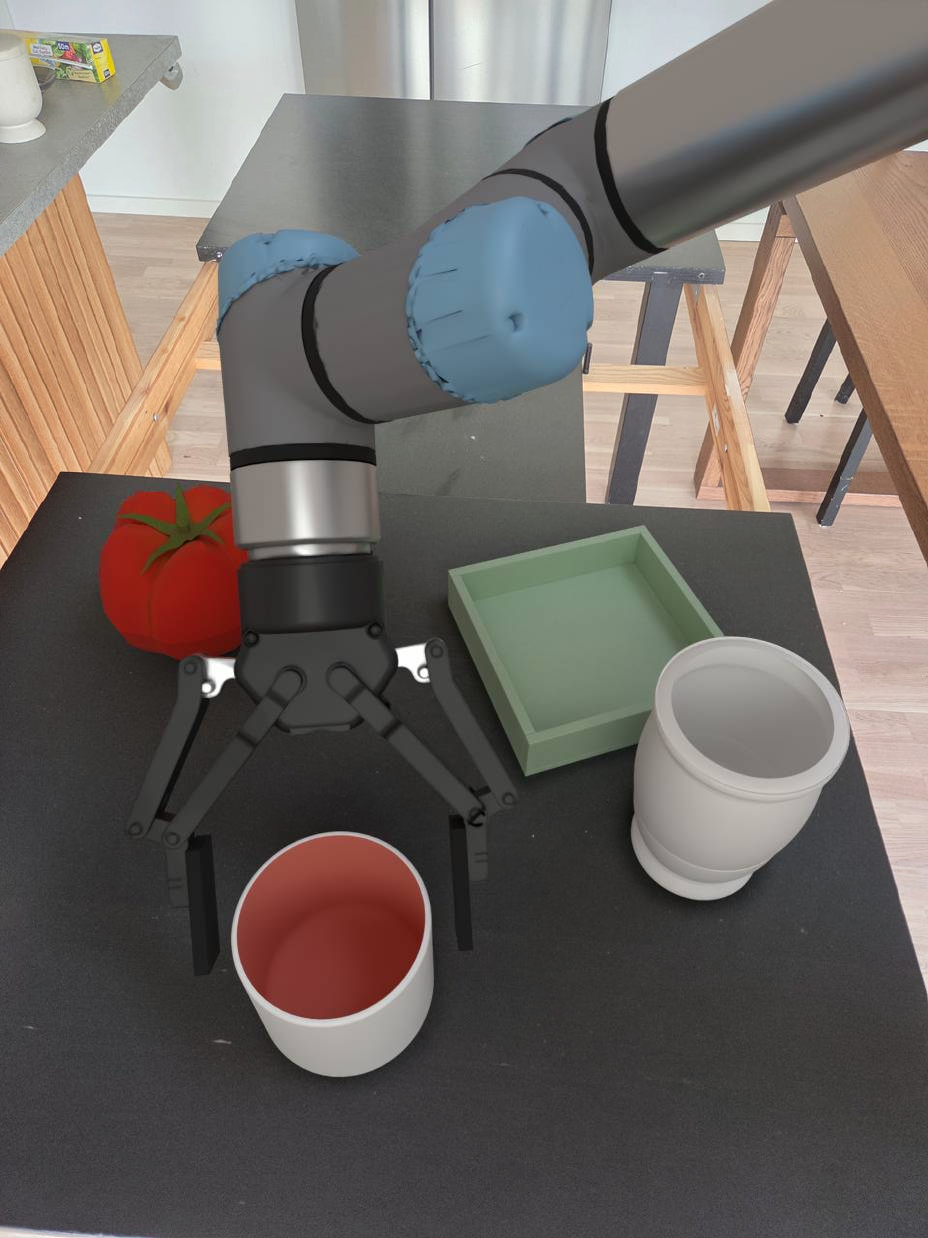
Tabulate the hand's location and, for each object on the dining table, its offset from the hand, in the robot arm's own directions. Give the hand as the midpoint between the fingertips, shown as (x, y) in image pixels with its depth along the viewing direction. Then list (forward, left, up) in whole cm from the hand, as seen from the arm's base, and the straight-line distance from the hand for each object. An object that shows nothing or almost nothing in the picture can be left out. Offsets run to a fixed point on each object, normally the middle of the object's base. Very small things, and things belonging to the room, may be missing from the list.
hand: (337, 952), depth 45 cm
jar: (+2, -24, -6) cm, 25 cm away
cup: (0, 0, -6) cm, 6 cm away
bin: (+19, -24, -6) cm, 31 cm away
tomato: (+32, +4, -6) cm, 33 cm away
